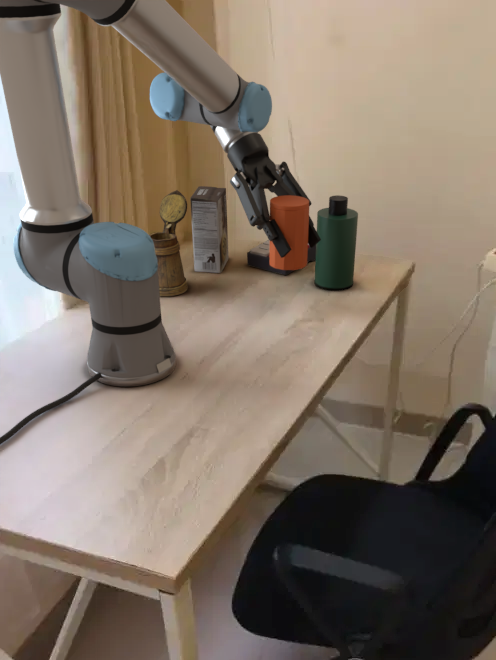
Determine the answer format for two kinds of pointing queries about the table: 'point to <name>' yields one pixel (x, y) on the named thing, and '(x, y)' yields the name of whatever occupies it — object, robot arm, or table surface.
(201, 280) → the table surface
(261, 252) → the red and grey box
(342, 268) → the flask
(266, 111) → the robot arm
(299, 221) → the cap
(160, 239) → the wooden mug
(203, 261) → the coffee box
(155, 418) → the table surface
